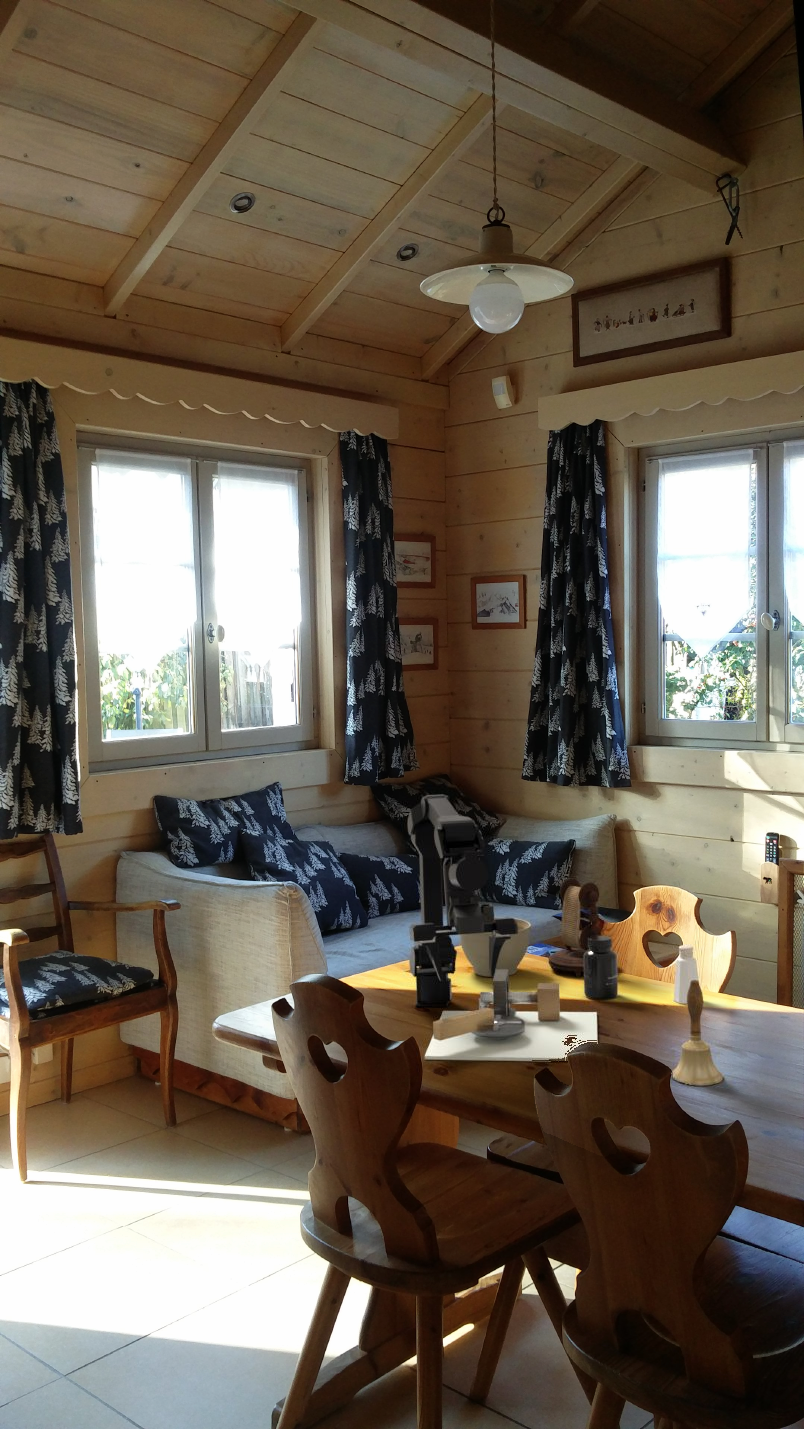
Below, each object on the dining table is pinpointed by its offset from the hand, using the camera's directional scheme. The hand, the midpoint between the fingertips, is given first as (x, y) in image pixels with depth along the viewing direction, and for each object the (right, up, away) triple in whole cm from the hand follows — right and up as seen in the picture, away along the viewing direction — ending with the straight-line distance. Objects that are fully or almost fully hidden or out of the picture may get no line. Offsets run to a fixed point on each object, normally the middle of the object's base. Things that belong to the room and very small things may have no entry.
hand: (466, 978), depth 211 cm
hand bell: (+37, -13, -16) cm, 42 cm away
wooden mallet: (+11, -11, +17) cm, 24 cm away
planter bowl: (+9, -11, +54) cm, 56 cm away
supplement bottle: (+29, -11, +33) cm, 45 cm away
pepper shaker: (+46, -11, +27) cm, 54 cm away
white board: (+9, -13, +9) cm, 18 cm away
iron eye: (+8, -12, +18) cm, 23 cm away
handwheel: (+3, -11, +4) cm, 12 cm away
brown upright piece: (+29, -10, +54) cm, 62 cm away
